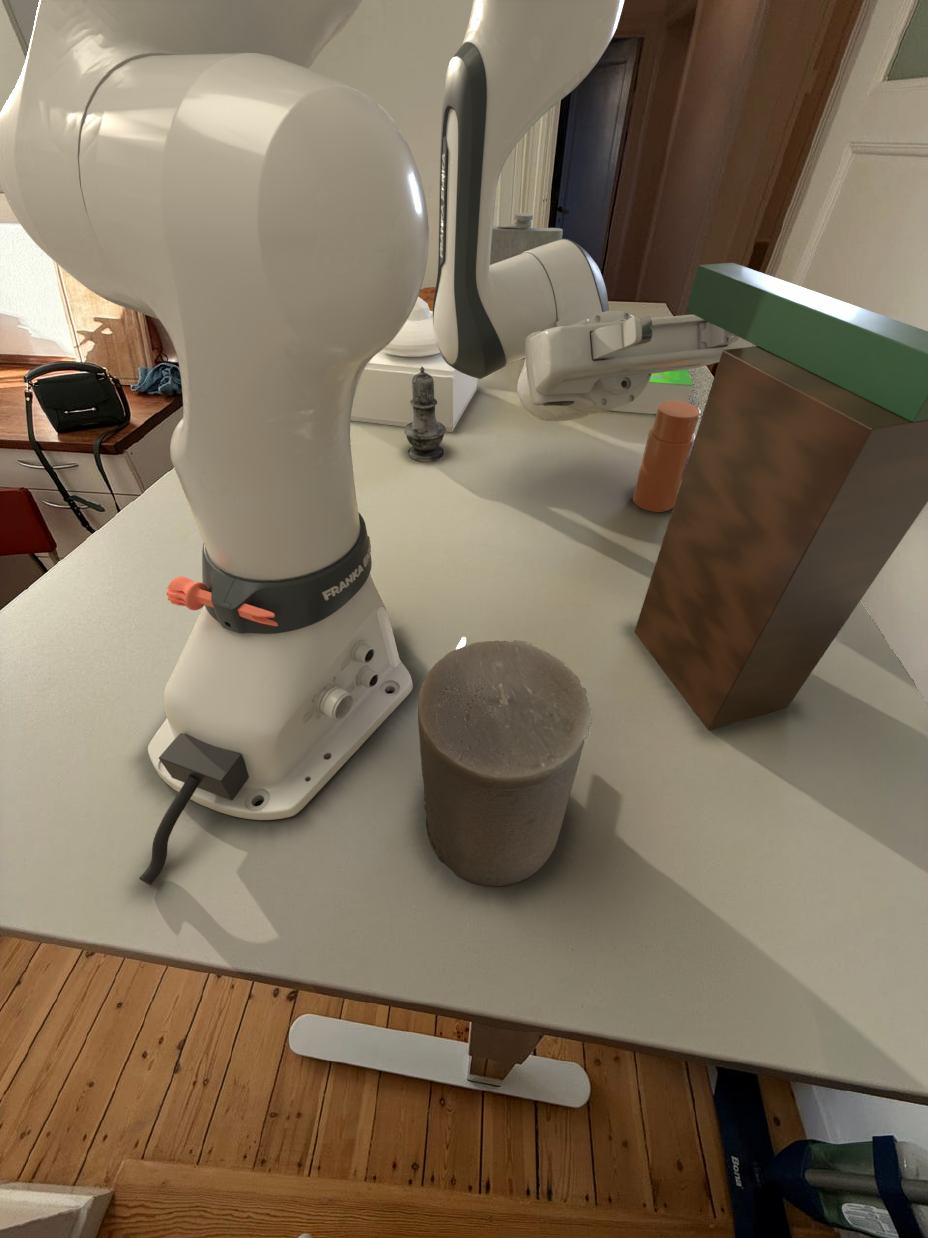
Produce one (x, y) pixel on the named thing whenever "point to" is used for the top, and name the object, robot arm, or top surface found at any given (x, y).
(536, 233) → the hip flask
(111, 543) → the top surface
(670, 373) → the tray
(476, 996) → the top surface
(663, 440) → the jar
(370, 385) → the butter dish
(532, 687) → the pillar candle
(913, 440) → the stand
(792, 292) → the rod
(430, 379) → the salt shaker
